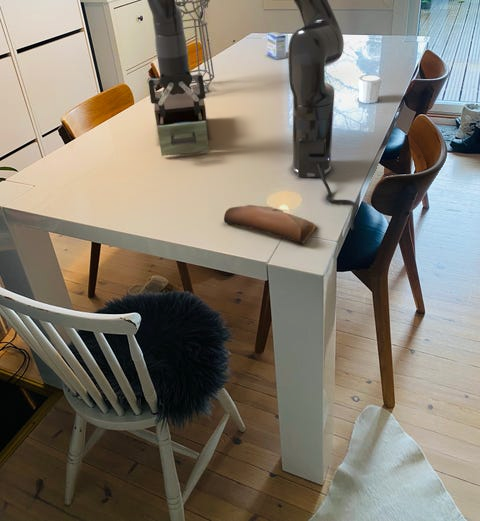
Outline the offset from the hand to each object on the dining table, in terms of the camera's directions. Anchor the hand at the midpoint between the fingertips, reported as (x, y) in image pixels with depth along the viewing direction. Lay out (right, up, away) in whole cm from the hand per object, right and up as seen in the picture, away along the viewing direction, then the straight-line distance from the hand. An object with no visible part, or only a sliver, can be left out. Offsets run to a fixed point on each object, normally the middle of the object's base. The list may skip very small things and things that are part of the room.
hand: (180, 116), depth 134 cm
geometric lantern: (0, +22, +44) cm, 49 cm away
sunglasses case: (+22, -31, -28) cm, 48 cm away
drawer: (+1, -7, +5) cm, 8 cm away
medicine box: (+31, +45, +72) cm, 90 cm away
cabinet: (-1, 0, +15) cm, 15 cm away
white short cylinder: (+57, +12, +26) cm, 64 cm away
